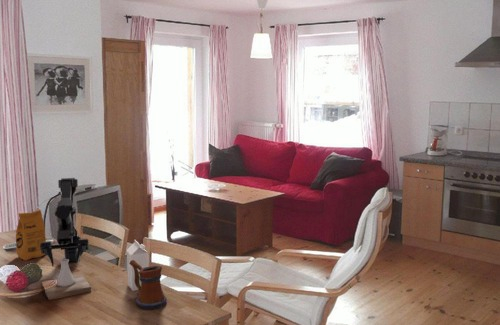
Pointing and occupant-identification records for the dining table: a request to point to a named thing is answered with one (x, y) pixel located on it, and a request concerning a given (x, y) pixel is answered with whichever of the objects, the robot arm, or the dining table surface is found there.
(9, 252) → the dining table surface
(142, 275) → the mug
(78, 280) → the walnut board
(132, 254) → the milk carton
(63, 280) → the flask
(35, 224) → the coffee package
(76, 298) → the dining table surface
